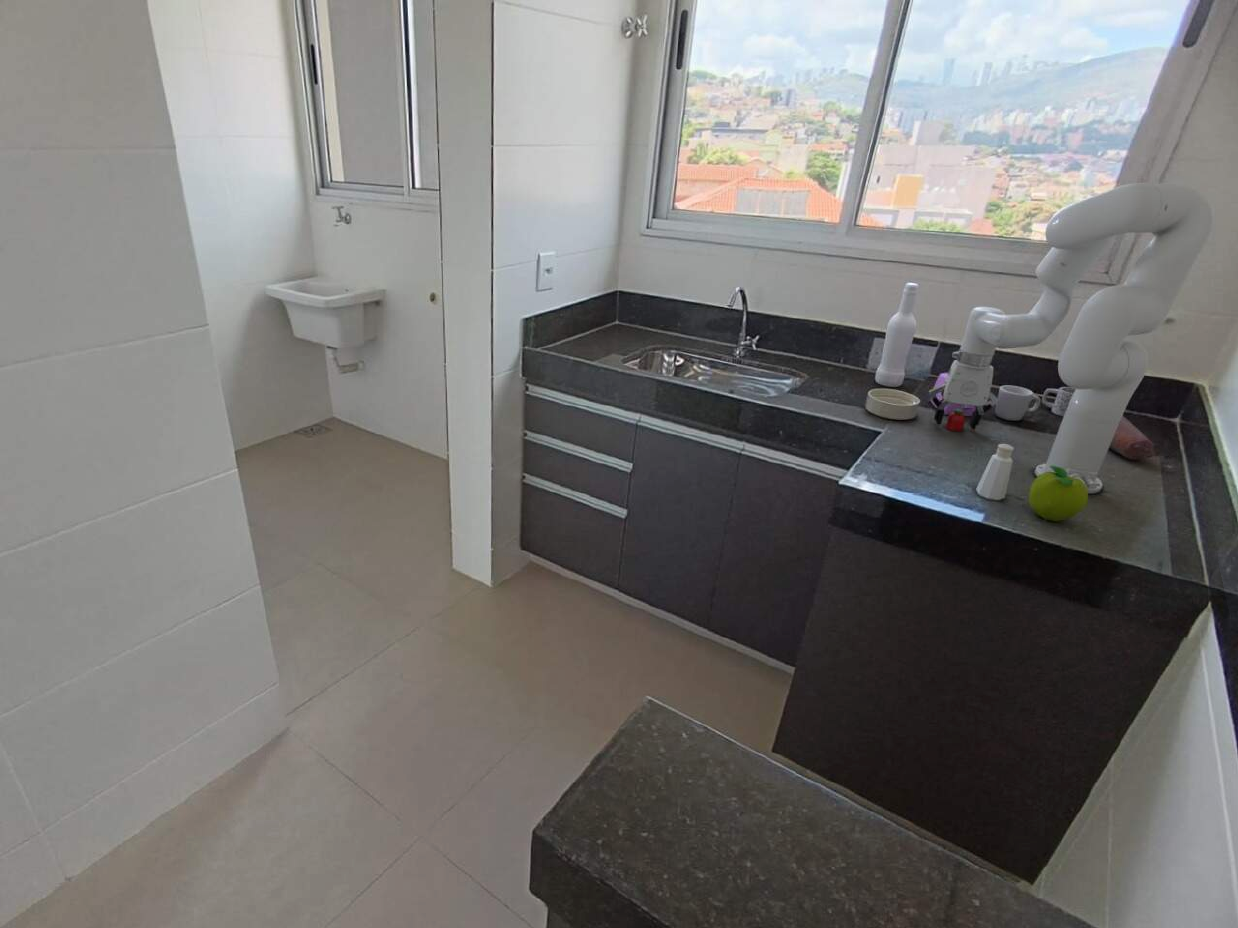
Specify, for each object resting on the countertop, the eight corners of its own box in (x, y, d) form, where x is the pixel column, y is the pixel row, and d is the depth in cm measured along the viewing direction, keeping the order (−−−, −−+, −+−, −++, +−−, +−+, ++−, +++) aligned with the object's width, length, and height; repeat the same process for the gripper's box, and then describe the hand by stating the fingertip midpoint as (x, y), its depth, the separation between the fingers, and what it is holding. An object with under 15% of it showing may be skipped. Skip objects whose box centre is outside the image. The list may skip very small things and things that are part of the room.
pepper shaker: (977, 485, 139) (993, 438, 135) (1006, 493, 137) (1023, 445, 132) (973, 494, 135) (989, 446, 131) (1002, 503, 133) (1020, 454, 128)
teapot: (921, 396, 191) (930, 362, 187) (957, 398, 191) (967, 364, 187) (946, 419, 175) (957, 382, 170) (986, 421, 175) (998, 385, 170)
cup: (1026, 414, 182) (1036, 387, 178) (1040, 425, 175) (1050, 397, 171) (986, 411, 182) (995, 383, 179) (998, 421, 175) (1007, 393, 172)
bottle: (883, 377, 206) (906, 280, 193) (907, 384, 200) (932, 285, 187) (868, 381, 201) (891, 282, 188) (893, 389, 196) (918, 287, 182)
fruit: (1024, 522, 126) (1042, 475, 122) (1020, 501, 134) (1037, 457, 129) (1080, 535, 123) (1100, 487, 118) (1072, 513, 130) (1091, 468, 126)
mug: (1081, 414, 184) (1090, 392, 181) (1074, 419, 180) (1083, 396, 177) (1043, 404, 191) (1050, 382, 188) (1035, 408, 187) (1043, 386, 184)
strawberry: (964, 432, 167) (969, 414, 165) (947, 429, 168) (952, 412, 166) (960, 426, 171) (965, 408, 169) (944, 424, 172) (949, 406, 169)
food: (1067, 429, 173) (1079, 397, 169) (1102, 430, 174) (1115, 399, 170) (1124, 463, 154) (1139, 428, 150) (1163, 465, 154) (1179, 430, 151)
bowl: (919, 424, 170) (924, 408, 169) (867, 417, 173) (871, 401, 171) (911, 407, 182) (915, 392, 180) (862, 401, 184) (866, 386, 182)
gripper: (940, 358, 160) (921, 425, 167) (1017, 367, 156) (995, 435, 164) (934, 350, 166) (916, 415, 174) (1008, 358, 163) (987, 424, 171)
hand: (954, 424), depth 169 cm, fingers open, 7 cm apart
